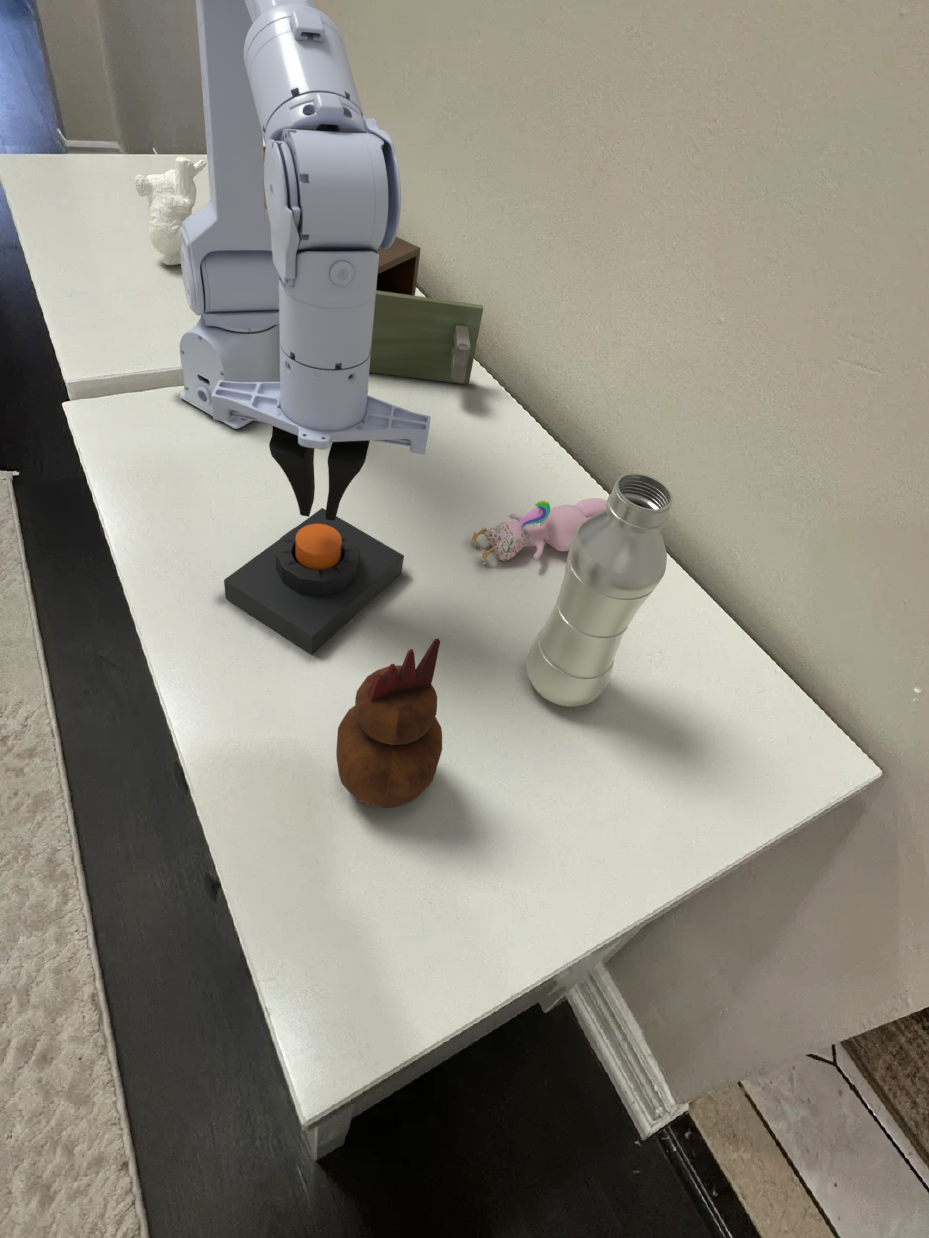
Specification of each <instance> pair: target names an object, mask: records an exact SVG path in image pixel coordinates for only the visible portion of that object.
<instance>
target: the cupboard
mask: <svg viewBox="0 0 929 1238" xmlns="http://www.w3.org/2000/svg"><path fill="white" fill-rule="evenodd" d="M377 251H378V252H379V262H378V273H377V286H376V290H377V291H384V292H391V293H398V294H406V295H413V296H416V291H417V290H416V289H417V283H418V282H417V281H418V275H419V274H418V273H419V266H420V257H421V247H420V246H418V245H415V244H413V243H411V242H409V241H406V240H405V239H402V238H401V237H398V236H396V238H395V240H394V242H393V244H392V246H391V247H390V248H388V249H383V248H382V247H381V246H380V247H379V248H378V249H377Z"/></svg>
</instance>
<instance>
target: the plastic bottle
mask: <svg viewBox="0 0 929 1238" xmlns="http://www.w3.org/2000/svg"><path fill="white" fill-rule="evenodd" d="M606 499H607V500H606V501H607V502H606V509H605V510H603V511H600V512H598V513H597V514H595V515H593V516H592V517H590V518H588V519H587V520H585V521H584V522H583V523H582V525H581V526H580V527H579V528H578V529H577V530H576V531H575V533H574V535H573V537H572V540H571V543H570V547H569V550H568V551H567V552H568V553H567V557H566V563H565V570H564V574H563V579H562V582H561V585H560V589H559V592H558V596H557V599H556V602H555V605H554V607H553V608H552V610H551V612H550V614H549V616H548V618H547V620H546V621H545V624H544V625H543V627H542V628H541V629H540V631H539V632H538V633H537V634H536V636H535V637H534V639H533V641H532V642H531V644H530V646H529V648H528V652H527V659H526V674H527V677H528V679H529V681H530V683H531V685H532V686H533V688H534V689H535V690H536V692H537V693H538V694H539V695H540V696H541V697H543V699H544V700H547V701H548V702H549V703H552V704H554V705H558V706H561V707H566V708H567V707H568V708H569V707H572V708H573V707H582V706H585V705H588V704H590V703H592V702H593V701H594V700H596V699H597V698H598V697H600V695H601V694H602V693H603V691H604V690H605V689H606V688H607V686H608V685H609V682H610V680H611V676H612V672H613V669H614V663H615V657H616V655H617V653H618V650H619V647H620V644H621V641H622V639H623V636H624V634H625V633H626V631H627V629H628V628H629V626H630V624H631V622H632V621H633V619H634V617H636V614H637V613H638V611H639V610H640V608H641V607H642V606H643V604H644V603H646V601H647V600H648V598H649V596H650V595H651V594H652V593H653V592H654V590H655V589H656V588H657V587H658V586H659V584H660V582H661V581H662V579H663V577H664V576H665V573H666V569H667V560H668V558H667V557H668V553H667V549H666V546H665V542H664V541H665V540H664V538H663V535H662V532H661V530H663V528H664V527H665V526H666V523H667V520H668V514H669V512H670V510H671V507H672V505H673V499H674V498H673V493H672V492H671V491H670V489H669V488H668V487H667V486H666V485H665V484H664V483H663V482H661V481H660V480H659V479H657V478H654V477H652V476H650V475H648V474H643V473H639V472H638V473H637V472H628V473H624V474H621V476H619V477H618V478H617V480H616V481H615V483H614V485H613V488H612V491H611V493H610V494H609V495H608V497H607V498H606Z"/></svg>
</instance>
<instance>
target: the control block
mask: <svg viewBox="0 0 929 1238" xmlns="http://www.w3.org/2000/svg"><path fill="white" fill-rule="evenodd" d="M310 524H324V525H328V526H331V527H333V528H334V529H336V530H337V531H338V532H339V534H340V536H341V539H342V544H341V557H340V560H339V562H338V563H337V564H336V565H335V566H333V567H331V568H329V569H325V570H314V569H309V568H307V567H305V566H303V565H301V564H300V563H299V561H298V560H297V558H296V555H295V548H296V534H297V533H298V531H299V530H300V529H301V528H303V527H305V526H307V525H310ZM404 559H405V555H403V554H402V553H401V552H399V551H397V550H395V549H393V548H392V547H390V546H388V545H387V544H385V543H383V542H381V540H378V539H377V538H375V537H373V536H372V535H369V534H368V533H366V532H365V531H363V530H361V529H359V528H358V527H356V526H354V525H353V524H350V523H349V522H347V521H346V520H344V519H342V518H340V517H339V516H337V515H336V519H335V520H334V521H333V520H327V519H326V508H323V507H321V508H320V509H319V510H317V511H316V512H314V513H313V514H312V515H310V516H309V517H308V518H306V519H305V520H303V521H302V522H300V523H299V524H298V525H297V526H295V527H293V528H292V529H290V530H289V531H288V532H286V533H285V534H283V536H281V537H280V538H279V539H278V540H277V541H275V542H273V543H272V544H271V545H269V546H268V547H266V548H265V549H264V550H263V551H261V552H260V553H258V554H257V555H255V556H254V557H253V558H251V559H250V560H249V561H247V562H246V563H245V564H244V565H242V566H241V567H239V568H238V569H236V570H235V571H234V572H233V573H231V574H229V576H227V577H226V578H224V579H223V585H224V586H223V587H224V596H225V599H226V600H227V601H229V602H230V603H231V604H233V605H235V606H236V607H238V608H239V609H241V610H242V611H244V612H245V613H247V614H248V615H250V616H252V617H253V618H255V619H256V620H258V621H259V622H261V623H262V624H264V625H265V626H266V627H268V628H270V629H272V630H273V631H275V632H276V633H277V634H279V635H280V636H282V637H284V638H285V639H287V640H288V641H290V642H291V643H293V644H294V645H296V646H298V647H299V648H301V649H302V650H303V651H305V652H307V653H308V654H310V655H313V654H315V653H316V652H317V651H318V650H319V649H320V648H321V647H322V646H323V645H324V644H325V643H327V641H329V640H330V639H331V638H332V637H333V636H334V635H335V634H337V633H338V632H339V631H340V630H341V629H342V628H344V626H345V625H347V623H349V622H350V621H351V620H352V619H353V618H354V617H355V616H356V615H357V614H359V613H360V612H361V611H362V610H363V609H364V608H366V606H367V605H368V604H370V602H372V601H373V600H374V599H375V598H376V597H378V595H380V594H381V593H382V592H383V591H384V590H385V589H386V588H387V587H388V586H389V585H391V584H392V583H393V582H394V581H395V580H396V579H398V577H399V576H401V574H402V571H403V566H404Z"/></svg>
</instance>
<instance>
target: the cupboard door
mask: <svg viewBox="0 0 929 1238" xmlns="http://www.w3.org/2000/svg"><path fill="white" fill-rule="evenodd" d="M483 313H484V305H482V304H478V303H477V304H475V303H470V302H469V303H468V302H461V301H456V300H448V299H439V298H433V297H425V296H420V295H415V296H413V295H406V294H398V293H391V292H384V291H377V290H376V296H375V308H374V320H373V332H372V344H371V357H370V369H369V373H372V374H373V373H374V374H381V375H388V376H389V375H390V376H397V377H405V378H412V379H413V378H414V379H421V380H428V381H439V382H446V383H454V384H462V385H470V379H471V374H472V370H473V364H474V359H475V356H476V355H475V354H476V350H477V343H478V339H479V334H480V329H481V323H482V318H483Z"/></svg>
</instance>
